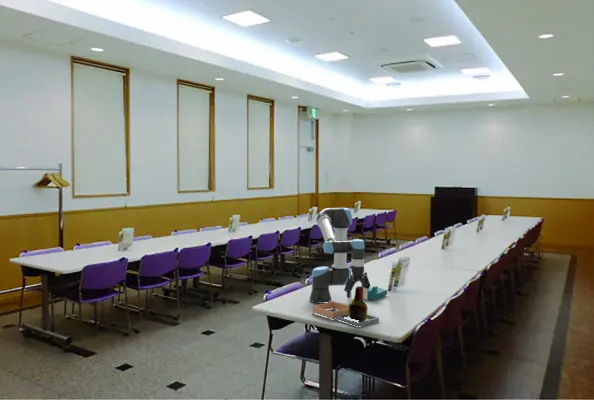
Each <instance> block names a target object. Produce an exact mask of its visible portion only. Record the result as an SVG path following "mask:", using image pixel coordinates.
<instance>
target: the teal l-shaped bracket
mask: <svg viewBox="0 0 594 400" xmlns="http://www.w3.org/2000/svg"><path fill="white" fill-rule="evenodd" d="M360 287H362V288H365V287H364V286H363V285H362V284H361V286H360ZM387 295H388V289H385V288H380V287H378V285H374V286H372V287H371V286H370V287H369V289H368V293H367V299H368V300H372V301H376V300H377V299H379V298H383V297H385V296H387Z"/></svg>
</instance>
